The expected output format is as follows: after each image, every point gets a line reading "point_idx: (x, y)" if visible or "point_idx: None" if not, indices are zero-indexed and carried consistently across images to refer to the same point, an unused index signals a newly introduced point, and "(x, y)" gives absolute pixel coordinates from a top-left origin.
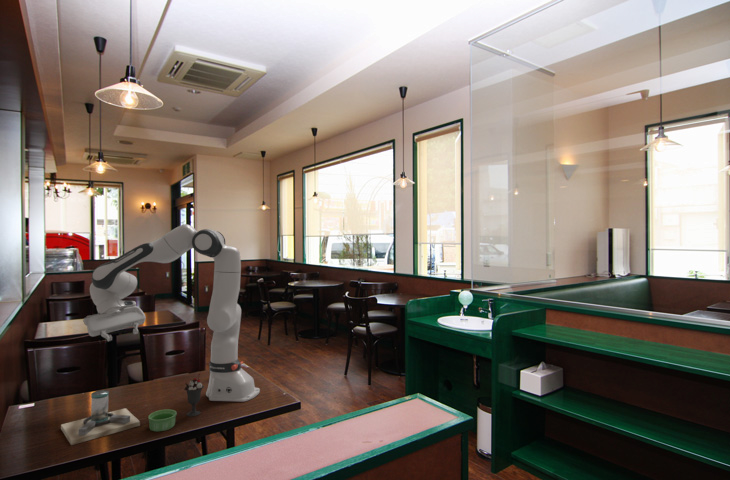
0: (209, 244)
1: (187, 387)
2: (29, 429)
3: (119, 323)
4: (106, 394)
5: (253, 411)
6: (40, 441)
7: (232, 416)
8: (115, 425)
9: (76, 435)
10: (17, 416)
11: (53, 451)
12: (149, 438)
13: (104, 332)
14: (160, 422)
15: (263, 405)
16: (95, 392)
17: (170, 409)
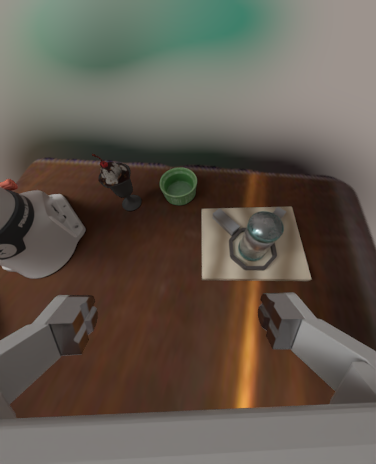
0: None
1: (123, 177)
2: (364, 322)
3: (183, 442)
4: (253, 215)
5: (82, 166)
6: (332, 250)
7: None
8: (233, 216)
9: (285, 218)
10: None
11: (309, 207)
12: (204, 173)
13: (364, 355)
14: (187, 172)
15: (61, 173)
16: (274, 233)
17: (162, 189)
